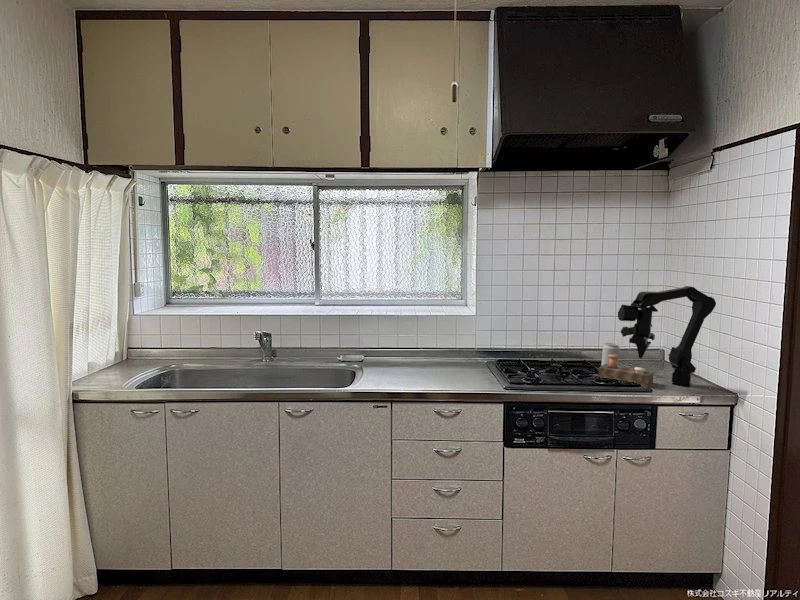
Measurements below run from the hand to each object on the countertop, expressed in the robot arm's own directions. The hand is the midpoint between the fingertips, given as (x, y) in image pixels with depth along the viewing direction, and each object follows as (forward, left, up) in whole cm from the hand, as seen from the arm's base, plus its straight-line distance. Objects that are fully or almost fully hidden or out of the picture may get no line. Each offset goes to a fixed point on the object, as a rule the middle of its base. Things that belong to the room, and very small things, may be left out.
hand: (640, 357), depth 219 cm
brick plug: (+11, 0, -7) cm, 13 cm away
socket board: (+5, 0, -11) cm, 12 cm away
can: (+17, -20, -11) cm, 29 cm away
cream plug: (0, 0, -11) cm, 11 cm away
